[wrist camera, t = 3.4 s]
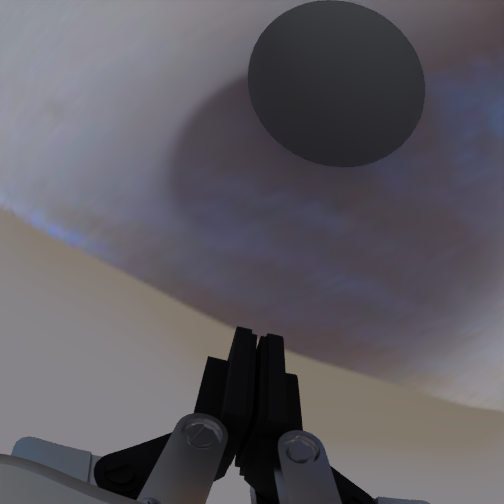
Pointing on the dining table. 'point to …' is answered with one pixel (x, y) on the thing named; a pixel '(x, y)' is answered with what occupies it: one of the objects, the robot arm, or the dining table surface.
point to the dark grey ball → (336, 83)
